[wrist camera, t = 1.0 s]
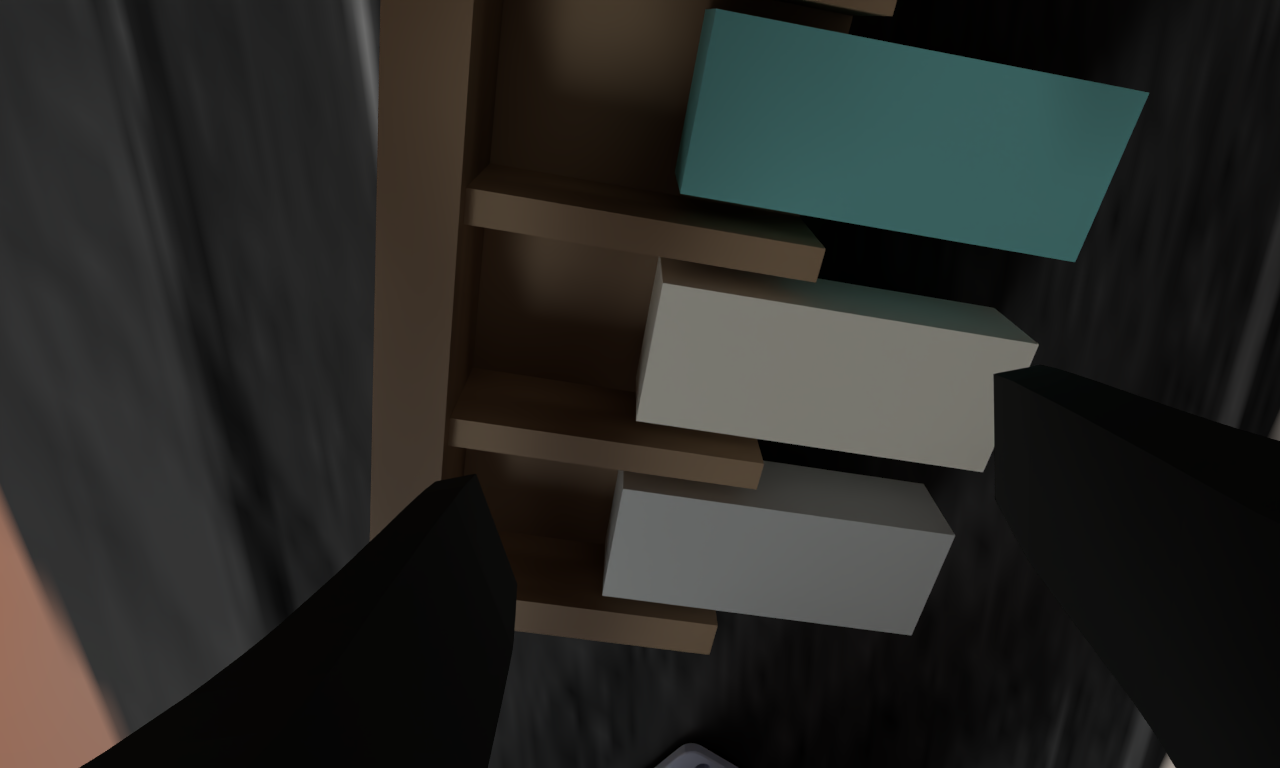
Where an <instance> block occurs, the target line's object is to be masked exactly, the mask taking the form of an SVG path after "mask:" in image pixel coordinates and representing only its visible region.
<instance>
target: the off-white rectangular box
mask: <svg viewBox="0 0 1280 768" xmlns="http://www.w3.org/2000/svg"><path fill="white" fill-rule="evenodd" d="M1038 346H1039V344H1038V343H1037V342H1035V341H1034V340H1033V339H1032V338H1031V337H1029V336H1028V335H1027V334H1026V333H1024V332H1023V331H1022V330H1021V329H1019V328H1018V327H1017V326H1016V325H1015V324H1013V323H1012V322H1011V321H1010V320H1008V319H1007V318H1006V317H1005V316H1004V315H1002V314H1001V313H1000V312H999V311H997V310H996V309H995V308H992V307H986V306H980V305H974V304H968V303H962V302H956V301H950V300H944V299H938V298H932V297H926V296H920V295H914V294H908V293H902V292H896V291H890V290H885V289H879V288H873V287H867V286H861V285H855V284H849V283H843V282H837V281H831V280H825V279H819V278H817V281H816V283H815V282H809V281H803V280H797V279H791V278H785V277H779V276H773V275H767V274H761V273H755V272H749V271H743V270H737V269H731V268H725V267H719V266H713V265H707V264H701V263H695V262H689V261H683V260H676V259H670V258H664V257H659V258H658V263H657V269H656V274H655V279H654V285H653V290H652V295H651V300H650V306H649V311H648V316H647V322H646V327H645V332H644V338H643V343H642V348H641V353H640V359H639V364H638V369H637V375H636V421H640V422H647V423H654V424H660V425H667V426H674V427H681V428H687V429H694V430H701V431H708V432H714V433H721V434H728V435H735V436H741V437H748V438H755V439H762V440H768V441H775V442H782V443H789V444H795V445H802V446H809V447H816V448H822V449H829V450H836V451H843V452H849V453H856V454H863V455H870V456H876V457H883V458H890V459H897V460H903V461H910V462H917V463H924V464H930V465H937V466H944V467H951V468H957V469H964V470H971V471H978V472H983V471H984V469H985V467H986V464H987V462H988V460H989V457H990V455H991V453H992V451H993V448H994V379H993V374H995V373H1001V372H1006V371H1011V370H1016V369H1021V368H1027V367H1029V366H1030V364H1031V362H1032V359H1033V357H1034V355H1035V353H1036V350H1037V348H1038Z"/></svg>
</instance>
